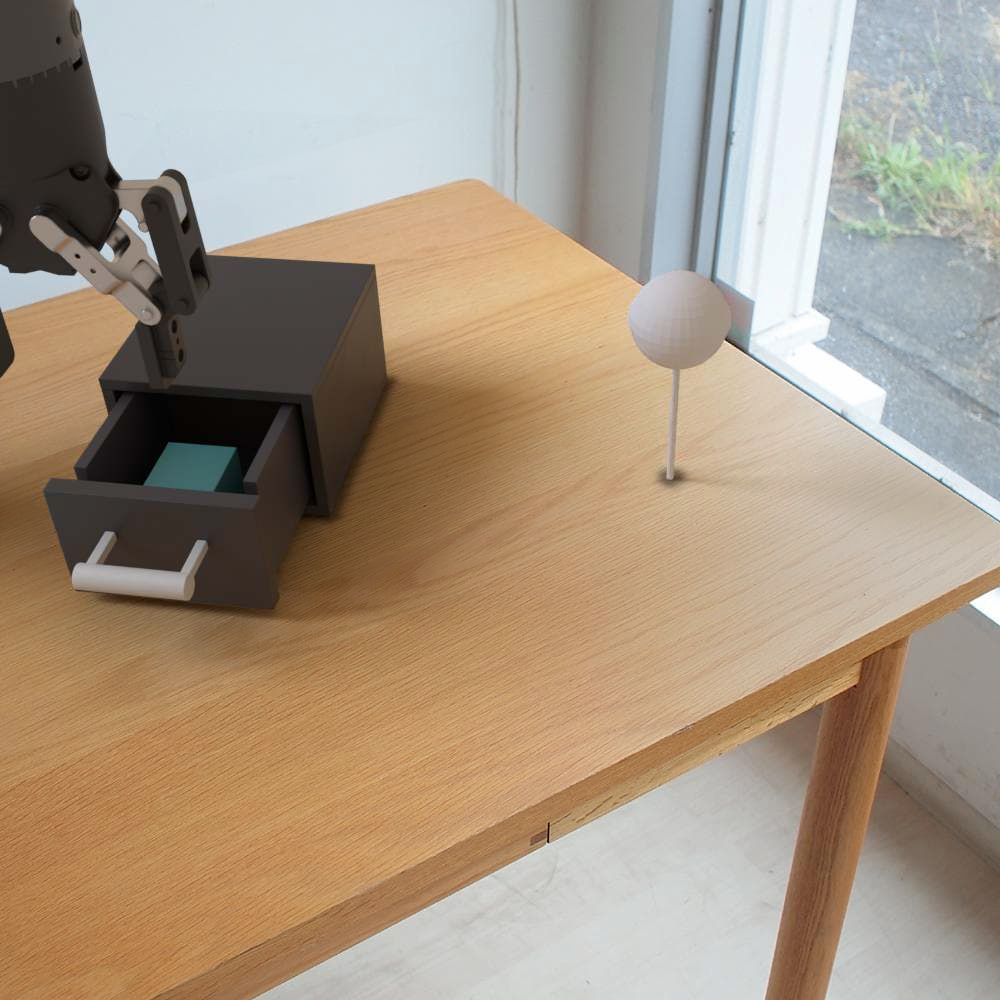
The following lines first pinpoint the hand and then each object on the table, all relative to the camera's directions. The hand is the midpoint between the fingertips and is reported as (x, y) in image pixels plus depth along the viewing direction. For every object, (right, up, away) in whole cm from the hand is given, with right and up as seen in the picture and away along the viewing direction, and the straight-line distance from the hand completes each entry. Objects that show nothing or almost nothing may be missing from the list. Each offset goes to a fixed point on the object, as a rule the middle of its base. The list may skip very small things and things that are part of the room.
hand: (83, 374), depth 64 cm
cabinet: (+4, -2, +28) cm, 28 cm away
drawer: (+2, -9, +18) cm, 20 cm away
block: (+2, -7, +18) cm, 19 cm away
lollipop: (+31, -5, +23) cm, 39 cm away
